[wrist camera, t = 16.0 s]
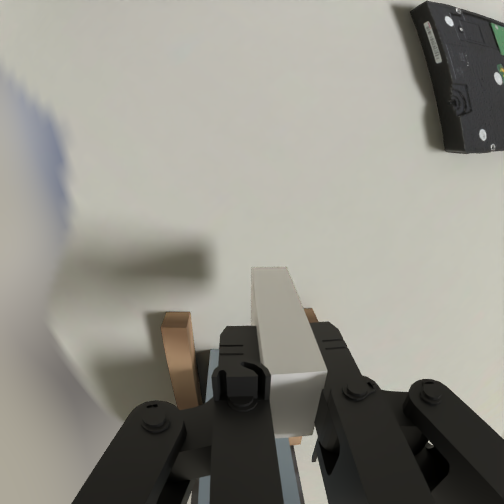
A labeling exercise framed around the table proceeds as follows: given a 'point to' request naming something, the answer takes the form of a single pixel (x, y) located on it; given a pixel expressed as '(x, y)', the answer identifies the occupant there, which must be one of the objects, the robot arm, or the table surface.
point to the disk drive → (465, 75)
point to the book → (282, 449)
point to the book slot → (186, 373)
